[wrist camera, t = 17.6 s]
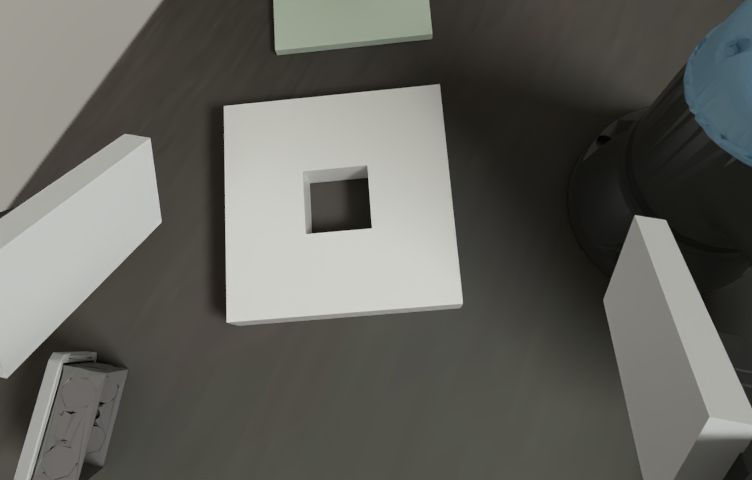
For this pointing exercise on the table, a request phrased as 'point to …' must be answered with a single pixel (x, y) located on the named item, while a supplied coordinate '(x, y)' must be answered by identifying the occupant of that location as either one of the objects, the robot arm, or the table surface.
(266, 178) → the socket block
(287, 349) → the table surface
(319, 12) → the pad
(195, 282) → the table surface
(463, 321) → the table surface
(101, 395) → the electrical switch
